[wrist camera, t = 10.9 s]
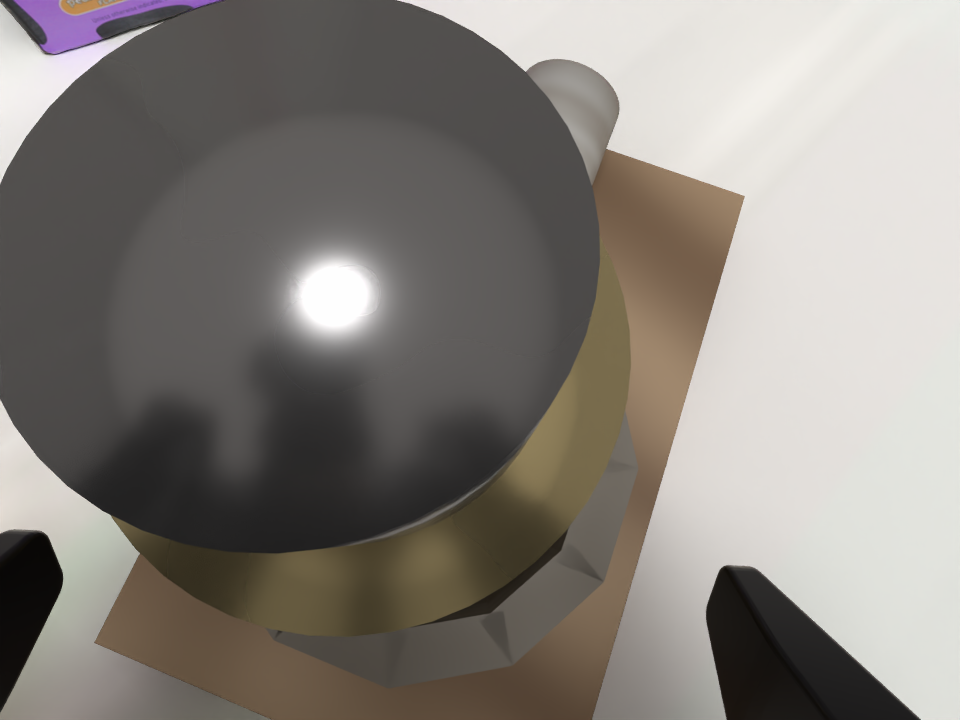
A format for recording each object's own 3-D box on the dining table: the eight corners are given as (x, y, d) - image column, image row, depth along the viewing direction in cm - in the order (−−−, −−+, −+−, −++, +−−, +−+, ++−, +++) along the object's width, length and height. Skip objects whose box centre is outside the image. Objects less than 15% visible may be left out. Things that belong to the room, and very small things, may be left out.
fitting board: (547, 812, 15) (584, 944, 10) (127, 632, 16) (-17, 677, 11) (724, 220, 20) (807, 122, 15) (390, 104, 21) (368, -23, 16)
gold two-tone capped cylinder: (560, 495, 16) (900, 365, 3) (396, 603, 15) (41, 956, 3) (461, 342, 17) (441, -183, 4) (304, 435, 16) (-260, 110, 4)
